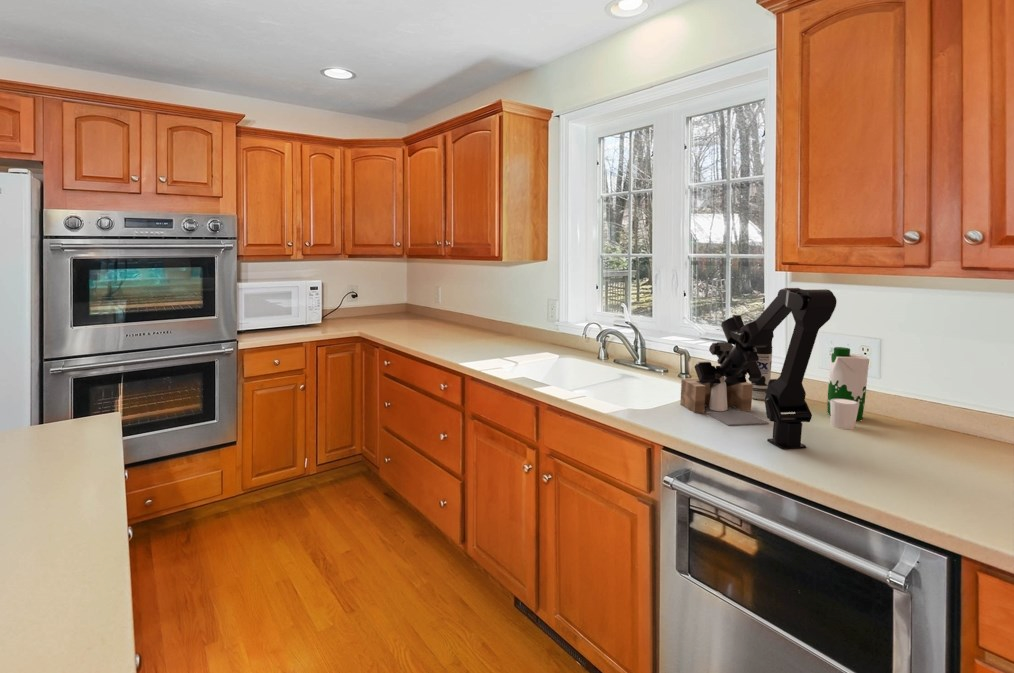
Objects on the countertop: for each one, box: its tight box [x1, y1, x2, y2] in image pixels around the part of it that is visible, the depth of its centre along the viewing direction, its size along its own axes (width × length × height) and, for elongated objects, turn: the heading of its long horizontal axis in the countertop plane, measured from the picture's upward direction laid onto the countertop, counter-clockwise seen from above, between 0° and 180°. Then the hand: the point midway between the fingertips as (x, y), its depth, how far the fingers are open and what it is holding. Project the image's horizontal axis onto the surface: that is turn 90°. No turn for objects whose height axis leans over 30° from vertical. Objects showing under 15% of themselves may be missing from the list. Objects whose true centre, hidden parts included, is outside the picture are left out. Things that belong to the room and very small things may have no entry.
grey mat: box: [706, 410, 770, 427], centre depth 162 cm, size 12×12×1 cm
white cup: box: [830, 399, 860, 430], centre depth 155 cm, size 7×7×7 cm
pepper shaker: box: [708, 376, 728, 412], centre depth 172 cm, size 5×5×11 cm
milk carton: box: [826, 346, 870, 421], centre depth 163 cm, size 9×9×20 cm
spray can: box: [747, 339, 773, 401], centre depth 185 cm, size 7×7×20 cm
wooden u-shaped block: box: [680, 377, 753, 414], centre depth 174 cm, size 10×18×8 cm, turn 99°
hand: (716, 386), depth 173 cm, fingers closed on pepper shaker, 4 cm apart
